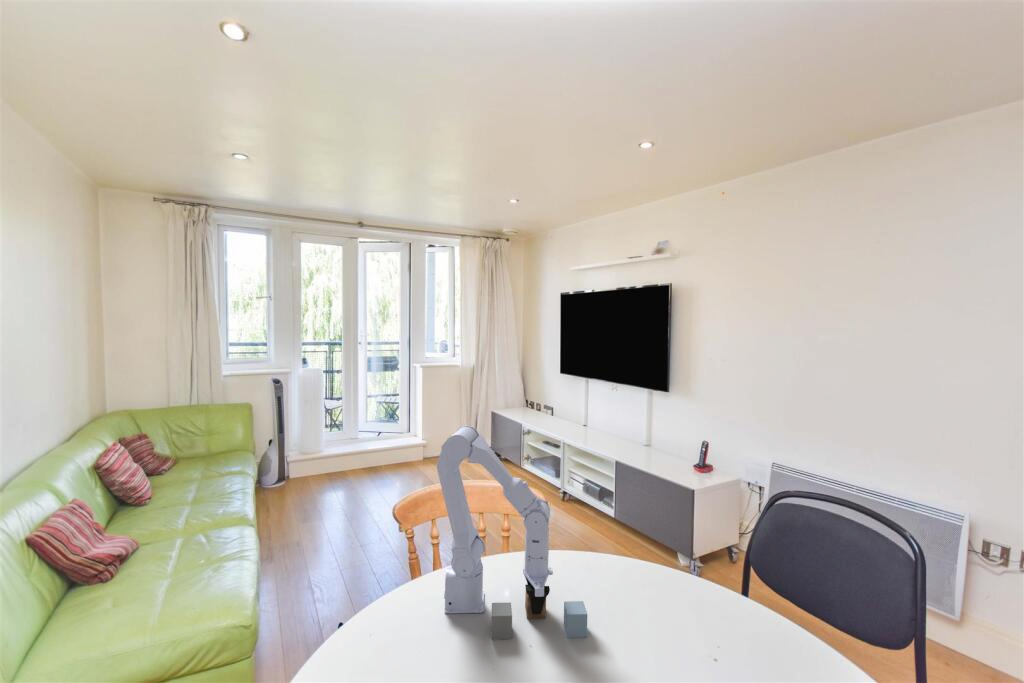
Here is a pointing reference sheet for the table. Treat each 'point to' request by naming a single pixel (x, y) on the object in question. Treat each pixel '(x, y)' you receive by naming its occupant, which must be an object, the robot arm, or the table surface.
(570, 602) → the slate block
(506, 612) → the grey block
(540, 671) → the table surface
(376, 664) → the table surface
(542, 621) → the table surface
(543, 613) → the walnut block
